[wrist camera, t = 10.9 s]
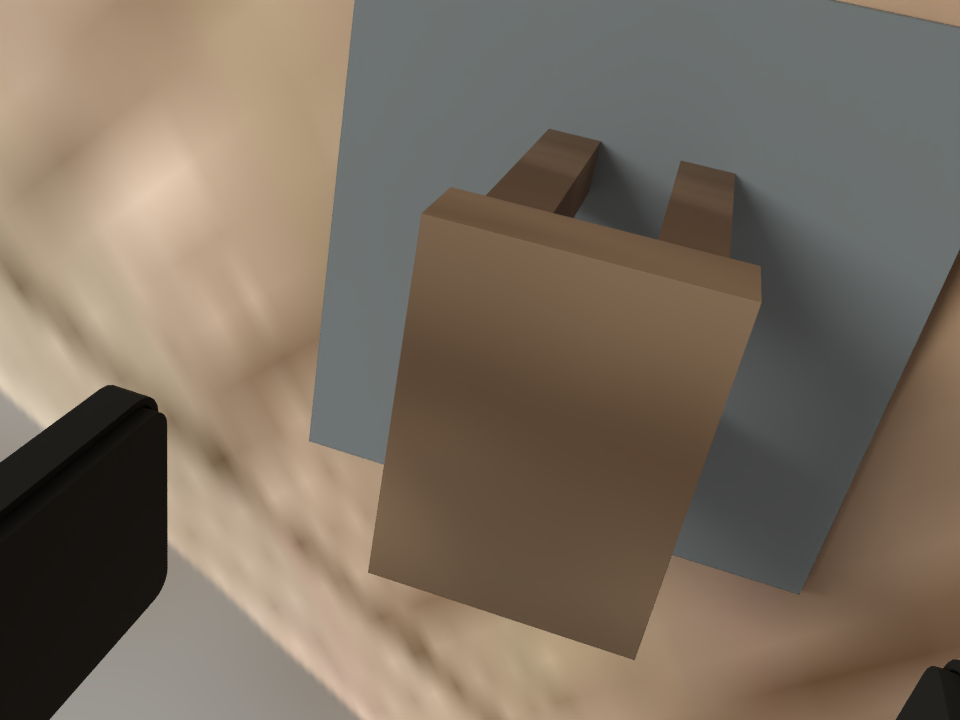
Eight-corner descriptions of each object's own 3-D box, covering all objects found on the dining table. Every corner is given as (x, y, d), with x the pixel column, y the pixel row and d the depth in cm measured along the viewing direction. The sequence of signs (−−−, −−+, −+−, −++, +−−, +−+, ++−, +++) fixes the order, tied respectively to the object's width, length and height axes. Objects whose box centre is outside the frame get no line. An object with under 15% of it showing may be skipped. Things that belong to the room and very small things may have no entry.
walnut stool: (669, 433, 23) (634, 660, 16) (481, 378, 24) (368, 572, 17) (757, 164, 19) (761, 302, 13) (534, 111, 20) (421, 213, 13)
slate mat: (1043, 45, 18) (1052, 48, 17) (798, 580, 24) (799, 594, 24) (375, -99, 20) (365, -99, 19) (317, 430, 26) (308, 441, 26)
